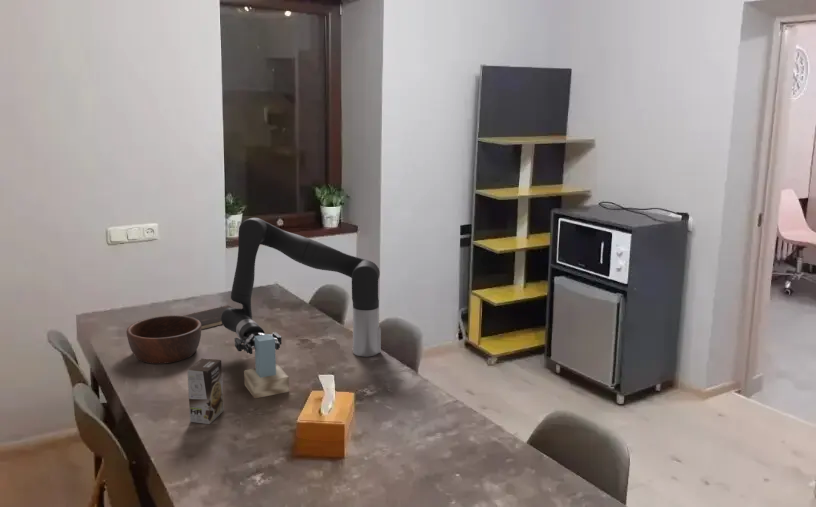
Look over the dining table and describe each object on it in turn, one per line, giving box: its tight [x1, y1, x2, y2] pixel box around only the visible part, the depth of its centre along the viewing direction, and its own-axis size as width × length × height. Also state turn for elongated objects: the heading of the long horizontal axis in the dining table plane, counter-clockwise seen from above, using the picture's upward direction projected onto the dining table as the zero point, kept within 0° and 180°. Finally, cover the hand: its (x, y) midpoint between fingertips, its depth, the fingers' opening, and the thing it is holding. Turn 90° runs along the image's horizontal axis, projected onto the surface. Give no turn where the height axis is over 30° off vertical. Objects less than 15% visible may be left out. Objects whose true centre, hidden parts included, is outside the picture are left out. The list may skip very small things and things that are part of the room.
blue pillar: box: [254, 333, 277, 378], centre depth 221 cm, size 5×5×12 cm
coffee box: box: [187, 358, 225, 425], centre depth 203 cm, size 9×6×16 cm
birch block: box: [243, 363, 290, 399], centre depth 223 cm, size 11×11×5 cm
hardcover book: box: [183, 304, 234, 330], centre depth 286 cm, size 16×23×2 cm
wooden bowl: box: [126, 314, 202, 365], centre depth 249 cm, size 25×25×10 cm
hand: (264, 348), depth 221 cm, fingers open, 8 cm apart
